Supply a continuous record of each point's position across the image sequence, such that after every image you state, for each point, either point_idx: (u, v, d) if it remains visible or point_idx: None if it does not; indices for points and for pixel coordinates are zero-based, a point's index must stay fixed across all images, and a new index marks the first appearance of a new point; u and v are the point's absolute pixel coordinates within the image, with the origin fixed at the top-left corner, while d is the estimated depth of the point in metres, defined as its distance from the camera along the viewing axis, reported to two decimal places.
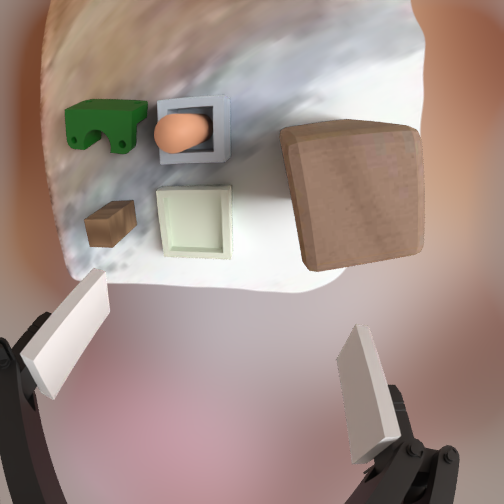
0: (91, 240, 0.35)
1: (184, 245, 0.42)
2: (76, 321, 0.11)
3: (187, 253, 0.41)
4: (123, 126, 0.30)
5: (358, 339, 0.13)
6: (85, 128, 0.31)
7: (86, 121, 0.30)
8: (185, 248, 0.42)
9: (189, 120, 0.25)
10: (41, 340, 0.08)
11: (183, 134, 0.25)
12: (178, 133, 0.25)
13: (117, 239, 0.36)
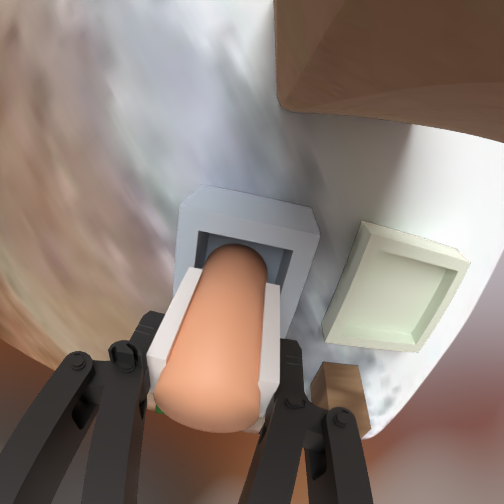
0: None
1: (418, 318, 0.23)
2: None
3: (432, 322, 0.21)
4: None
5: (264, 295, 0.15)
6: None
7: None
8: (423, 320, 0.22)
9: (176, 370, 0.09)
10: (166, 338, 0.10)
11: (211, 395, 0.09)
12: (206, 402, 0.09)
13: (364, 415, 0.21)
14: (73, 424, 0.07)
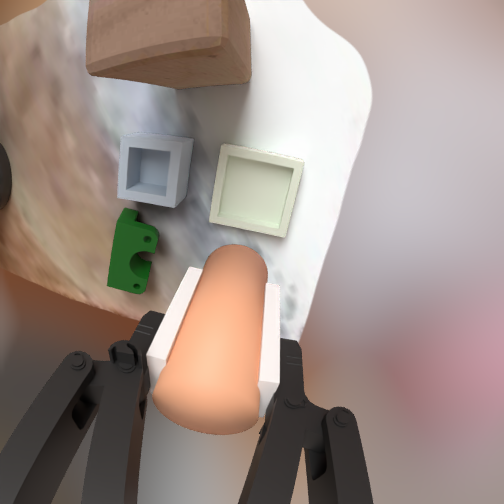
0: None
1: (280, 210, 0.37)
2: None
3: (286, 209, 0.35)
4: (130, 233, 0.35)
5: (264, 295, 0.15)
6: (126, 271, 0.38)
7: (120, 268, 0.38)
8: (282, 210, 0.36)
9: (174, 372, 0.09)
10: (166, 338, 0.10)
11: (210, 397, 0.09)
12: (205, 404, 0.09)
13: None
14: (73, 424, 0.07)
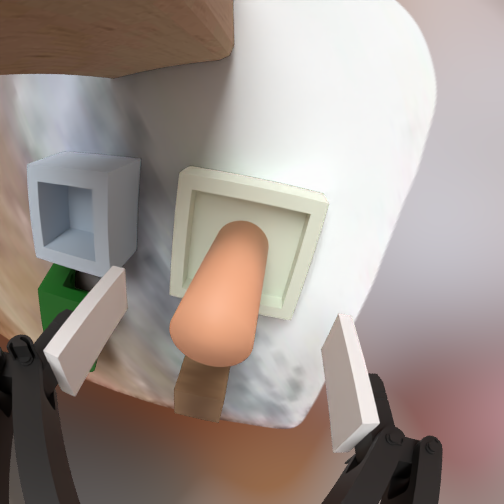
0: (208, 417, 0.22)
1: (284, 278, 0.23)
2: (98, 318, 0.11)
3: (294, 280, 0.21)
4: (58, 305, 0.21)
5: (340, 328, 0.13)
6: None
7: None
8: (288, 279, 0.22)
9: (189, 301, 0.12)
10: (65, 337, 0.09)
11: (215, 323, 0.12)
12: (211, 330, 0.13)
13: (220, 384, 0.22)
14: None
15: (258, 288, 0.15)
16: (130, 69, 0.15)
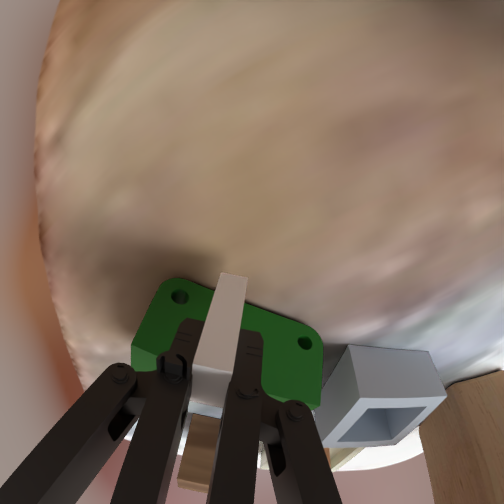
0: (183, 486, 0.21)
1: None
2: None
3: None
4: None
5: (231, 287, 0.15)
6: None
7: None
8: None
9: None
10: (210, 346, 0.11)
11: None
12: None
13: None
14: (107, 437, 0.07)
15: None
16: (442, 418, 0.21)
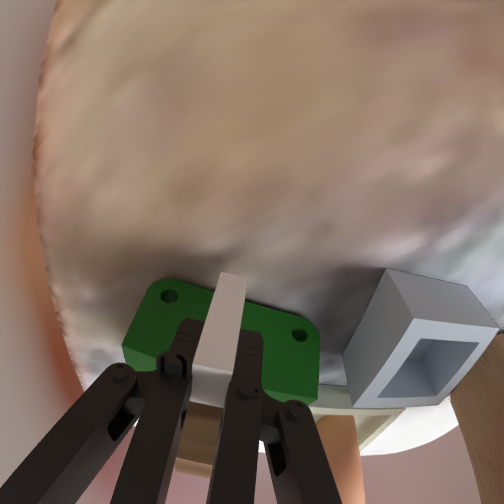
0: (182, 469, 0.17)
1: None
2: None
3: None
4: None
5: (231, 287, 0.15)
6: None
7: None
8: None
9: None
10: (210, 346, 0.11)
11: None
12: None
13: None
14: (107, 437, 0.07)
15: None
16: (480, 377, 0.18)
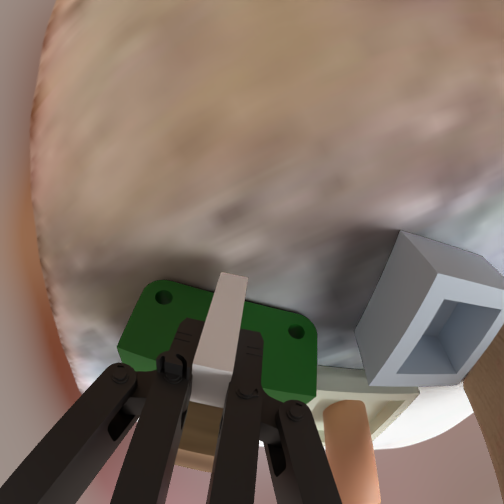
0: (178, 461, 0.16)
1: None
2: None
3: None
4: None
5: (231, 287, 0.15)
6: None
7: None
8: None
9: None
10: (210, 346, 0.11)
11: None
12: None
13: None
14: (107, 437, 0.07)
15: None
16: (496, 358, 0.17)
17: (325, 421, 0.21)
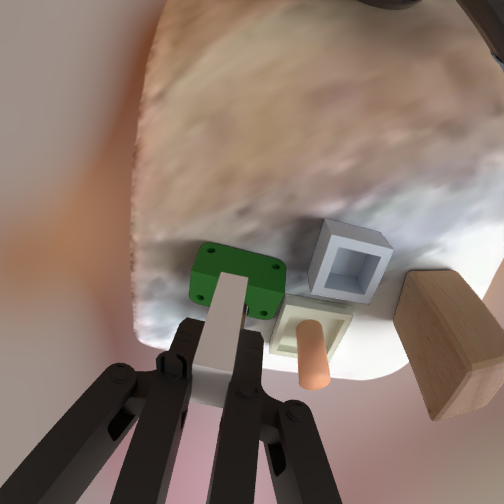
0: None
1: (289, 344, 0.43)
2: None
3: (293, 354, 0.42)
4: (270, 302, 0.35)
5: (231, 287, 0.15)
6: None
7: None
8: (290, 348, 0.43)
9: (329, 374, 0.33)
10: (210, 346, 0.11)
11: (322, 382, 0.33)
12: (319, 381, 0.33)
13: None
14: (107, 437, 0.07)
15: None
16: (406, 298, 0.36)
17: (296, 333, 0.41)
